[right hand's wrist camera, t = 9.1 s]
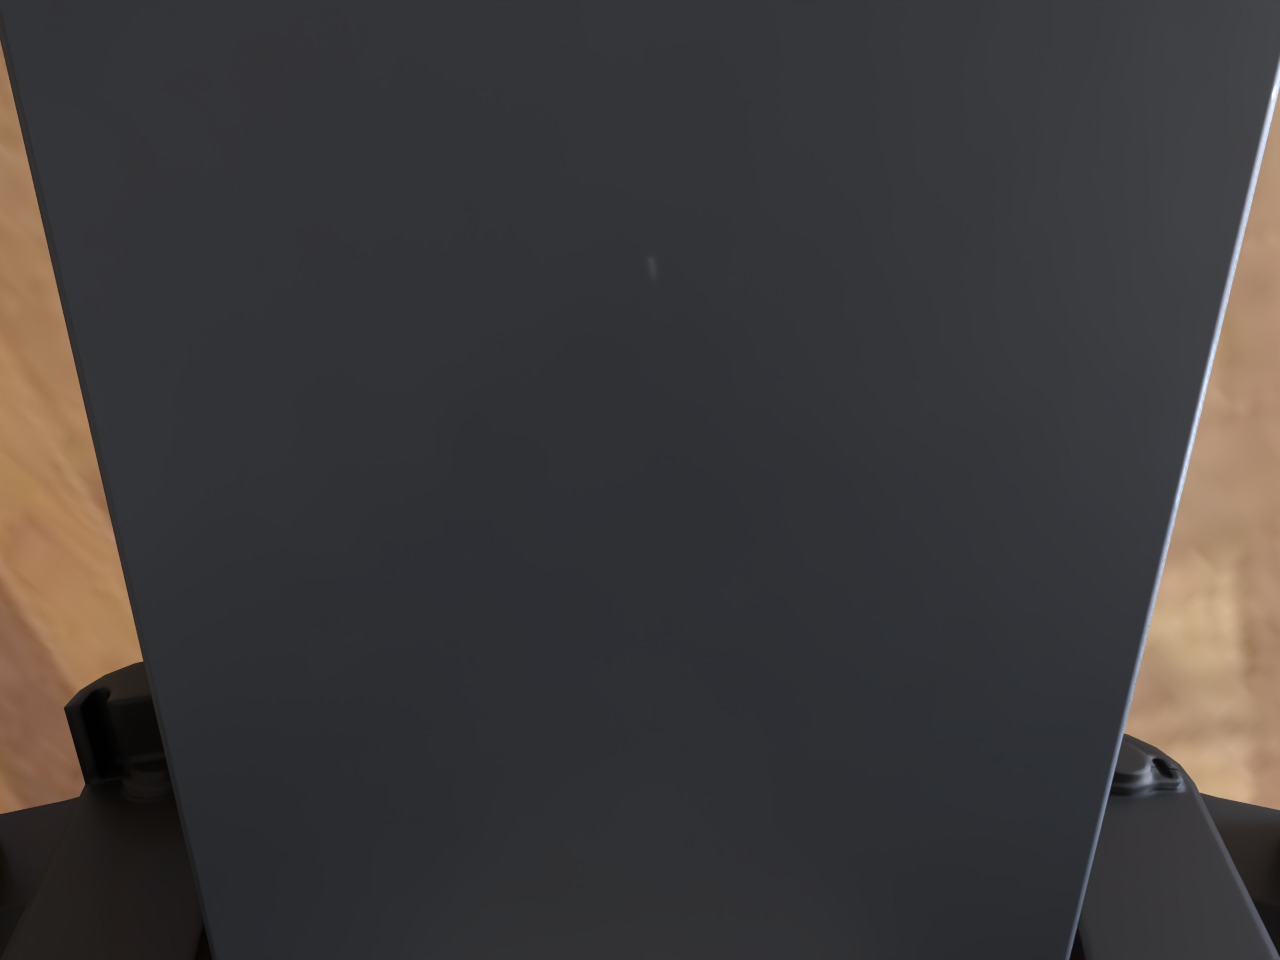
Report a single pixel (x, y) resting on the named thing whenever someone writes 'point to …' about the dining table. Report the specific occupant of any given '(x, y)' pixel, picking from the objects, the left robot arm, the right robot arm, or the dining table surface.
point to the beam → (642, 446)
